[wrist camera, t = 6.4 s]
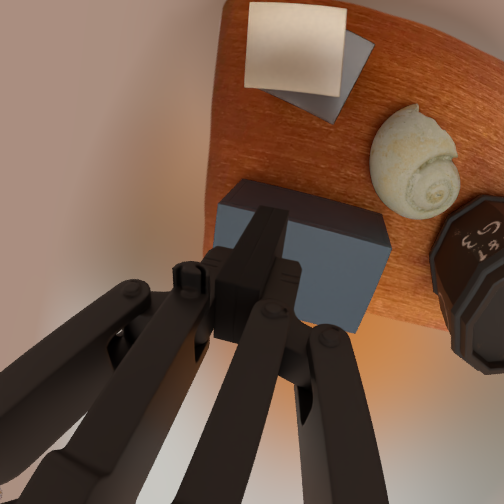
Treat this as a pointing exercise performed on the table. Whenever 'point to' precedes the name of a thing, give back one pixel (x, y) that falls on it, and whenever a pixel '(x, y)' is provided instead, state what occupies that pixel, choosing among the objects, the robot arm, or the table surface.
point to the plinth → (353, 64)
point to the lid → (319, 266)
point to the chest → (310, 209)
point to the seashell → (414, 165)
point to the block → (295, 47)
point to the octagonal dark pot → (473, 281)
